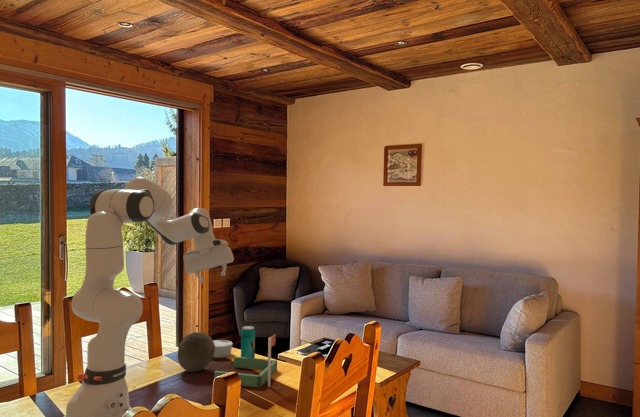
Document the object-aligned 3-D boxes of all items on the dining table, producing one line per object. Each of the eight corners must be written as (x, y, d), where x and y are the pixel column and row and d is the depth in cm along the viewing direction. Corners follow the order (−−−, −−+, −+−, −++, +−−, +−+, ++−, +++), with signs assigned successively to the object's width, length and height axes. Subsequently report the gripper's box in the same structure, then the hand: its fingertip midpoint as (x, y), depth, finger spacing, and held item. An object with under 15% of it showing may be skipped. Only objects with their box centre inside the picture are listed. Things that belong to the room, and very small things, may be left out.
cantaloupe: (200, 379, 191) (201, 339, 191) (169, 373, 196) (170, 335, 196) (220, 367, 204) (221, 331, 204) (191, 363, 209) (192, 327, 209)
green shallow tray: (268, 388, 183) (269, 339, 182) (214, 382, 188) (214, 334, 187) (284, 371, 201) (285, 326, 201) (234, 366, 206) (235, 322, 206)
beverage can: (251, 365, 207) (252, 329, 207) (238, 364, 209) (239, 328, 208) (256, 361, 213) (257, 326, 213) (243, 360, 214) (244, 325, 214)
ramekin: (235, 352, 226) (236, 340, 226) (227, 359, 215) (227, 347, 215) (212, 350, 228) (212, 338, 228) (202, 357, 217) (202, 345, 217)
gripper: (179, 252, 207) (186, 285, 204) (226, 238, 205) (233, 271, 202) (185, 254, 213) (192, 285, 210) (230, 240, 212) (238, 272, 209)
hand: (212, 278), depth 206 cm, fingers open, 8 cm apart
